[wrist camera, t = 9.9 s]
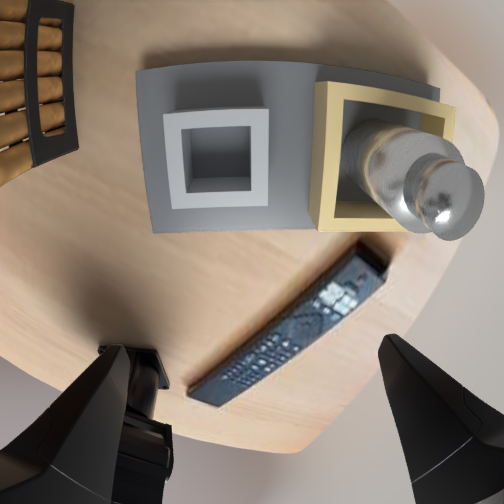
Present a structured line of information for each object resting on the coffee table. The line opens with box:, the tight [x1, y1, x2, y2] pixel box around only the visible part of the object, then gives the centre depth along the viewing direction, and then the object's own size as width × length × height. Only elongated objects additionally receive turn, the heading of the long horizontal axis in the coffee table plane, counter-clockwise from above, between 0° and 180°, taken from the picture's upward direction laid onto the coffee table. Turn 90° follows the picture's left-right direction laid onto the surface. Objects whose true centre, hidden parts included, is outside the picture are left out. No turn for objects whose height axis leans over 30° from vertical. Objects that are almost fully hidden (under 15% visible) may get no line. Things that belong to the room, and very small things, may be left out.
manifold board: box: [136, 61, 456, 233], centre depth 15 cm, size 10×18×4 cm, turn 90°
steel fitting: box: [341, 119, 484, 241], centre depth 12 cm, size 4×4×8 cm
